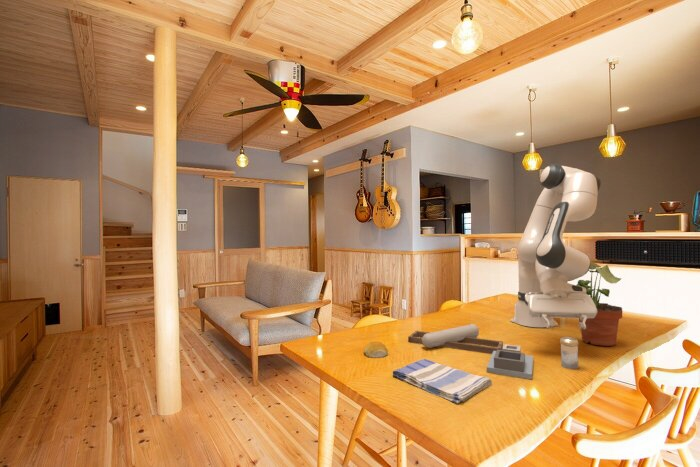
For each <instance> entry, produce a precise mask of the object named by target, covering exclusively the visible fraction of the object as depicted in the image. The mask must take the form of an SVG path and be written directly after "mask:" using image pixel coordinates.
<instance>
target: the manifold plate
mask: <svg viewBox="0 0 700 467" xmlns="http://www.w3.org/2000/svg"><path fill="white" fill-rule="evenodd" d="M521 348H522V346H520V345H514V344H507V343H506V344H505V343H503V348H502V350H497V351H493V353H492V354H491V356H490V359H489V360H488V363H487V365H486V373H489V374H494V375H495V374H496V375H501V376H506V377H507V376H508V377H512V378H513V377H514V378H519V379H520V378H521V379H525V380H531V381H532V379H533V367H534V355H528V354H526V353H525V352H522V349H521Z"/></svg>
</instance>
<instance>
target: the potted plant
mask: <svg viewBox="0 0 700 467" xmlns="http://www.w3.org/2000/svg"><path fill="white" fill-rule="evenodd" d="M608 265H609V264H606V265H604V266H603V267H602V266H601V265H599V264H598V263H596V262H594V261H592V260H590V269H589V271H588V272H589V273H591V274H590V280H585V279H578V280H577V284H576V285H577V286H581V287H585V288H586V291H587V292H586V294H587V295H589V296H590V297H591V298H592V300H593V302H594V304H595V306H596V308H597V314H596V316H595V317H594V318H587V319H586V321H585V325H586V329H580V332H581V338H582V341H583V342H584V343H586V344H589V343H590V344H591V345H594V346H604V347H605V346H606V347H610V346H611V347H612V346H615V345H616V344H617V335H618V331H619V329H618V328H619V322H620V319H622V318H623V307H621V306H616V305H612V304H608V303H606V302H605V303H604V302H600V300H601V294H602V295H603V296H606V297H610V289H608V288H601V289H600V284H601V278H603V279H604V280H605V281H606V282H607V283H609V284H617V283H618V282H620V281H621V280H622V278H621V277H617V276H615V275H614V274H613V273H612V272H611V270H610V267H609V266H608ZM593 273H597V274H596V276H595V277H596V278H595V281H594V286H593ZM598 275H600V277H599V279H598ZM597 279H598V281H599V282H598V287H597V289H596V285H597ZM589 284H590V285H589ZM599 293H600V294H599ZM578 321H579V322H582V321H583V320H582V321H581V320H580V318H578ZM579 322H578V323H579Z"/></svg>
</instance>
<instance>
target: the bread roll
mask: <svg viewBox="0 0 700 467" xmlns="http://www.w3.org/2000/svg"><path fill="white" fill-rule="evenodd" d="M363 350H364V351H363V353H364V354H365V355H366V357H368V358H374V359H375V358H376V359H377V358H378V359H379V358H384V357H386V356H387V355H388V353H389V349H388V348H387V347H386V346H385V344H384V343H382V342H380V341H372V342H370V343H368V344H366V345H365V347H364V349H363Z"/></svg>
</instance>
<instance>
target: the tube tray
mask: <svg viewBox="0 0 700 467" xmlns="http://www.w3.org/2000/svg"><path fill="white" fill-rule="evenodd" d="M427 333H431V332H429V331H420V330H416V331H414V332H412V333H411V334H410V335H409V336H408V337H407V338H408V340H407V342H408V343H412V344H413V343H414V344H421V345H423V343H422V337H423V336H424V335H425V334H427ZM503 346H504V342H503V341H502V340H493V339H488V338H487V339H485V338H479V337H477V338H471V337H466V338H464V339H463V340H462V341H458V342H450V341H447V342H445V343H444V344H443V345H441V346H440V347H441V348H448V349H457V350H463V351H470V352H477V353H484V354H491V355H492V353H493V351H497V350H503Z"/></svg>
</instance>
